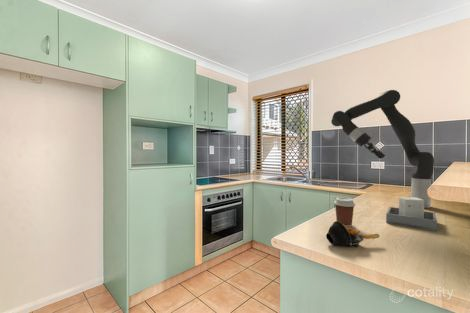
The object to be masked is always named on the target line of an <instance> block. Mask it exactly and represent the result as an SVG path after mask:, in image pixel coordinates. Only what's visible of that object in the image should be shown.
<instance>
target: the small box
mask: <svg viewBox="0 0 470 313" xmlns="http://www.w3.org/2000/svg"><path fill="white" fill-rule="evenodd" d="M398 208H399V215H403V216H410V217H417V218H424V211H425V208H424V200H422V199H419V198H416V197H411V196H410V197H405V196H401V197H400V196H399V197H398Z"/></svg>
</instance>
